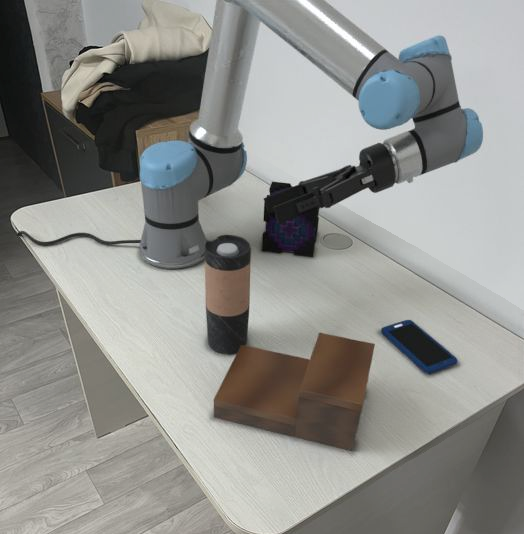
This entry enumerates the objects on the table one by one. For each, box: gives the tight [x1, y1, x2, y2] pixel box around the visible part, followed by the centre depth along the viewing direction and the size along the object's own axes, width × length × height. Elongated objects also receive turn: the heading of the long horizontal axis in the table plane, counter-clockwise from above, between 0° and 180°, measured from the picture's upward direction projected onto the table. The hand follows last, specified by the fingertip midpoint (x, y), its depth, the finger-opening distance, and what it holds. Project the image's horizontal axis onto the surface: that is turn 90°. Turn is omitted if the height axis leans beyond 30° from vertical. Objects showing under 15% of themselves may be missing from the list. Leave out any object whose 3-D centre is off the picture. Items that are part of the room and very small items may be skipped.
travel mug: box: [204, 234, 252, 355], centre depth 93 cm, size 8×8×20 cm
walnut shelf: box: [213, 332, 376, 452], centre depth 85 cm, size 22×14×10 cm, turn 74°
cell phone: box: [380, 319, 458, 374], centre depth 100 cm, size 7×14×1 cm, turn 28°
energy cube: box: [261, 181, 320, 258], centre depth 126 cm, size 12×12×12 cm
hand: (270, 210), depth 91 cm, fingers open, 13 cm apart
